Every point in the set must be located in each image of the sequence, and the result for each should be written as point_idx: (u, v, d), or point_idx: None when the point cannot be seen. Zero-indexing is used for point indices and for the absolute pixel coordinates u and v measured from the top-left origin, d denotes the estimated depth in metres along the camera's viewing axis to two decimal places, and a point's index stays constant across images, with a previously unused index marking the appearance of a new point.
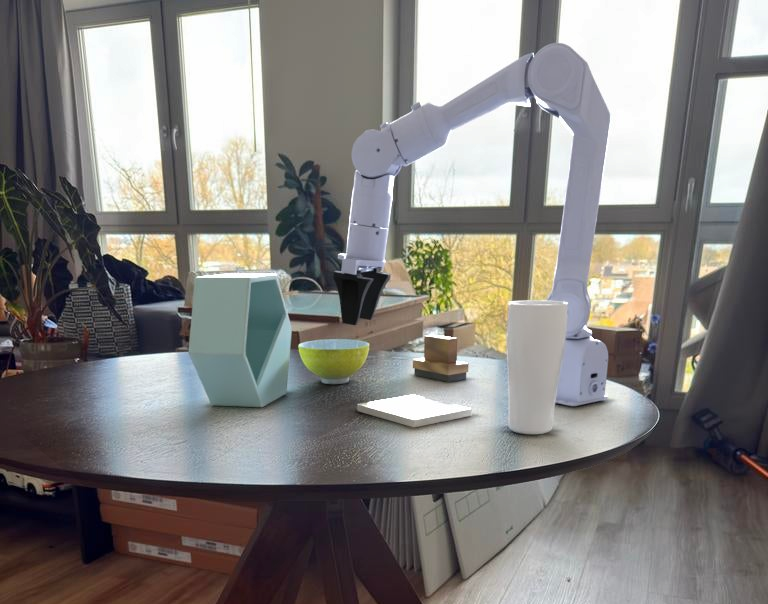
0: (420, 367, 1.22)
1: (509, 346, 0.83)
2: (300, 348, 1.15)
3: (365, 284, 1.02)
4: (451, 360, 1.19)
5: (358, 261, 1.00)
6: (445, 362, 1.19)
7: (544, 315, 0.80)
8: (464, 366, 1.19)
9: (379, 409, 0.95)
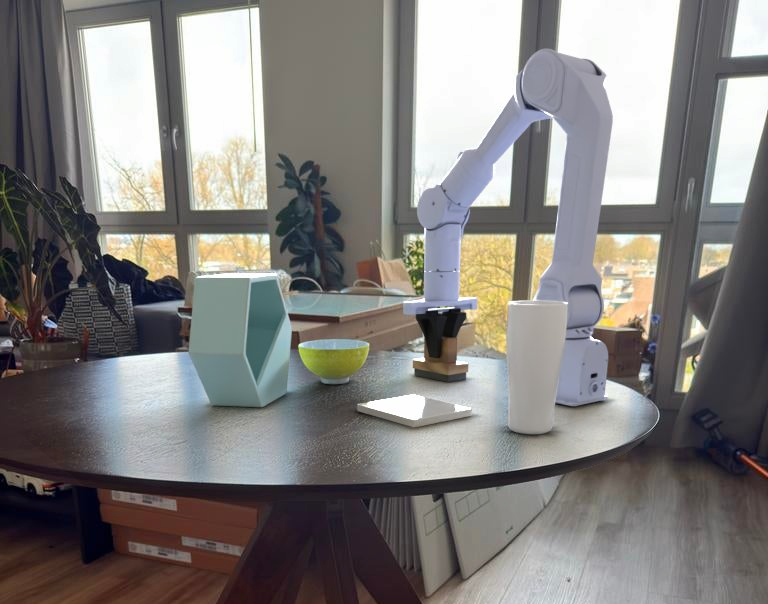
0: (420, 367, 1.22)
1: (509, 346, 0.83)
2: (300, 348, 1.15)
3: (435, 321, 1.15)
4: (451, 360, 1.19)
5: (416, 303, 1.13)
6: (445, 362, 1.19)
7: (544, 315, 0.80)
8: (464, 366, 1.19)
9: (379, 409, 0.95)
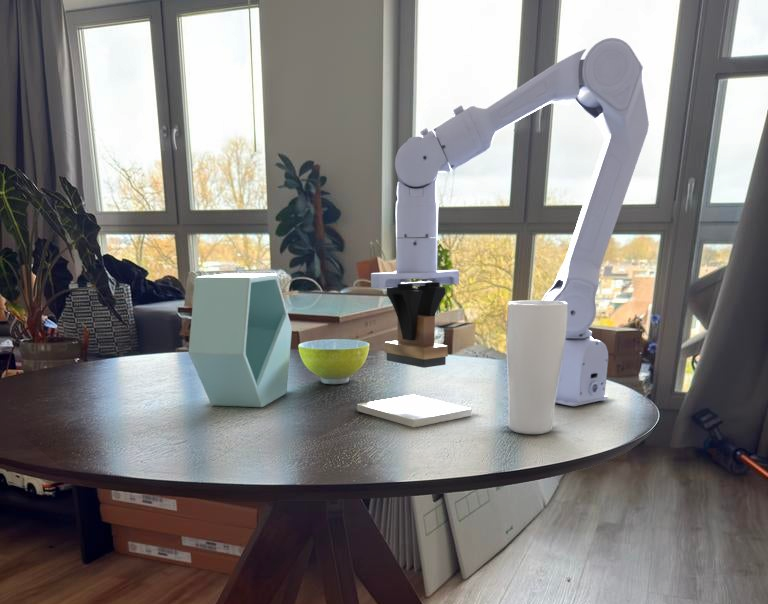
0: (393, 351, 1.05)
1: (509, 346, 0.83)
2: (300, 348, 1.15)
3: (408, 296, 0.98)
4: (428, 343, 1.02)
5: (385, 274, 0.97)
6: (421, 345, 1.02)
7: (544, 315, 0.80)
8: (443, 349, 1.02)
9: (379, 409, 0.95)
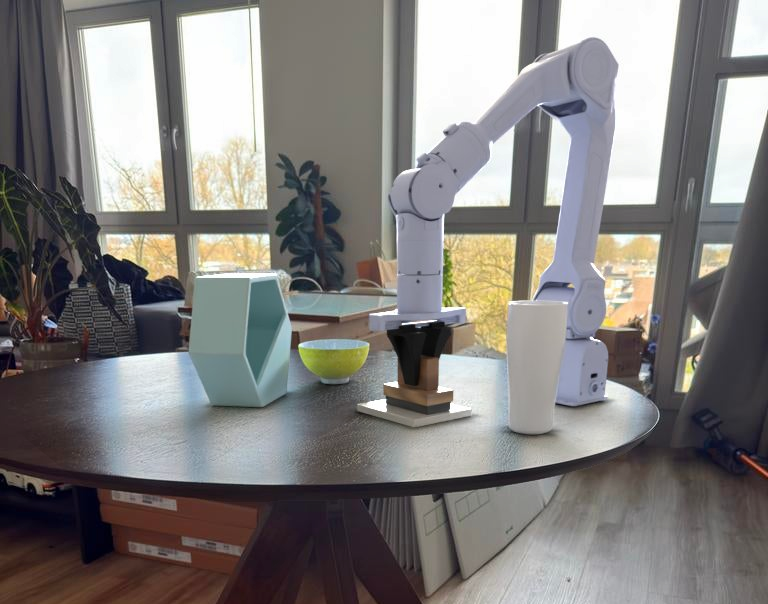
0: (392, 394, 0.96)
1: (509, 346, 0.83)
2: (300, 348, 1.15)
3: (411, 339, 0.89)
4: (431, 387, 0.92)
5: (385, 316, 0.87)
6: (423, 389, 0.92)
7: (544, 315, 0.80)
8: (448, 394, 0.92)
9: (379, 409, 0.95)
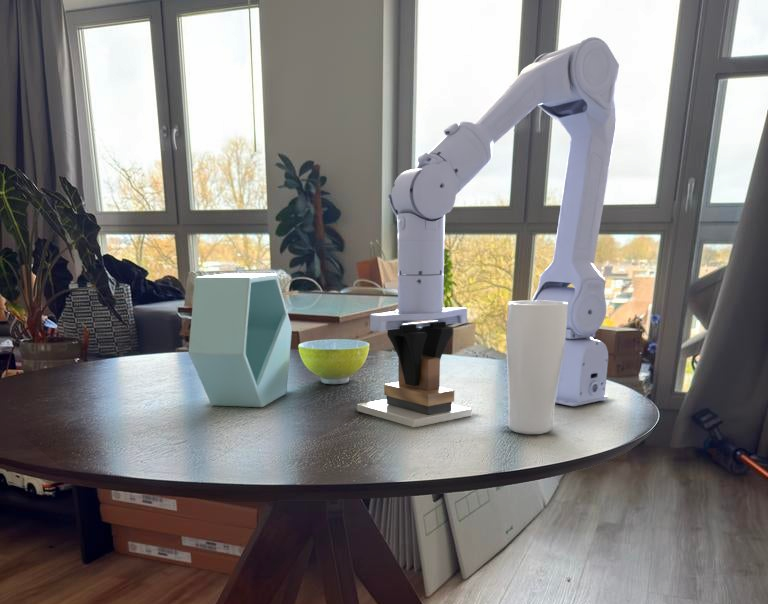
0: (393, 394, 0.96)
1: (509, 346, 0.83)
2: (300, 348, 1.15)
3: (411, 340, 0.89)
4: (432, 387, 0.92)
5: (386, 316, 0.87)
6: (424, 389, 0.92)
7: (544, 315, 0.80)
8: (449, 394, 0.92)
9: (379, 409, 0.95)
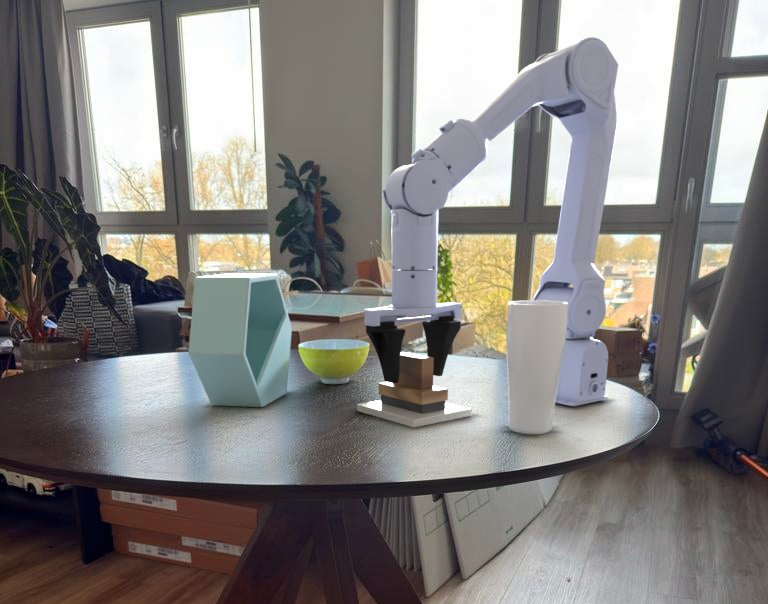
0: (387, 393, 0.96)
1: (509, 346, 0.83)
2: (300, 348, 1.15)
3: (389, 336, 0.88)
4: (426, 385, 0.93)
5: (380, 311, 0.87)
6: (418, 388, 0.93)
7: (544, 315, 0.80)
8: (442, 393, 0.93)
9: (379, 409, 0.95)
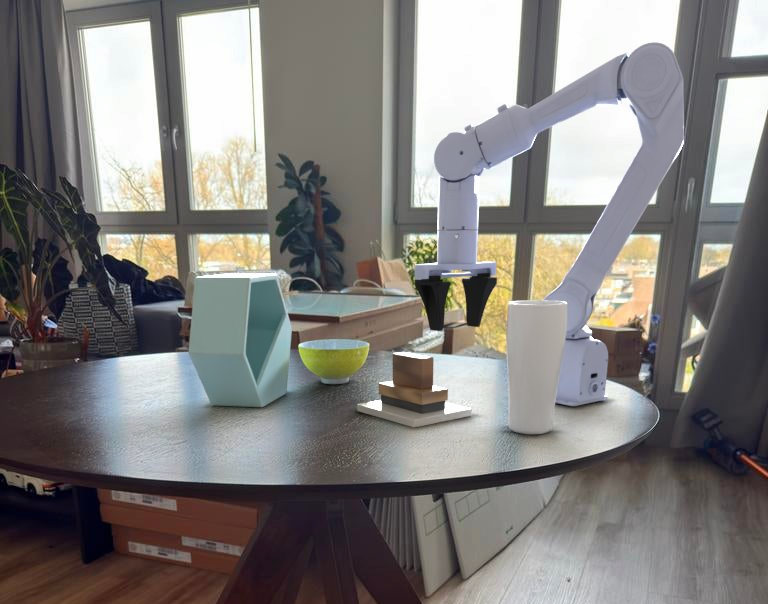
0: (387, 393, 0.96)
1: (509, 346, 0.83)
2: (300, 348, 1.15)
3: (437, 287, 1.00)
4: (426, 385, 0.93)
5: (429, 265, 1.00)
6: (418, 388, 0.93)
7: (544, 315, 0.80)
8: (442, 393, 0.93)
9: (379, 409, 0.95)
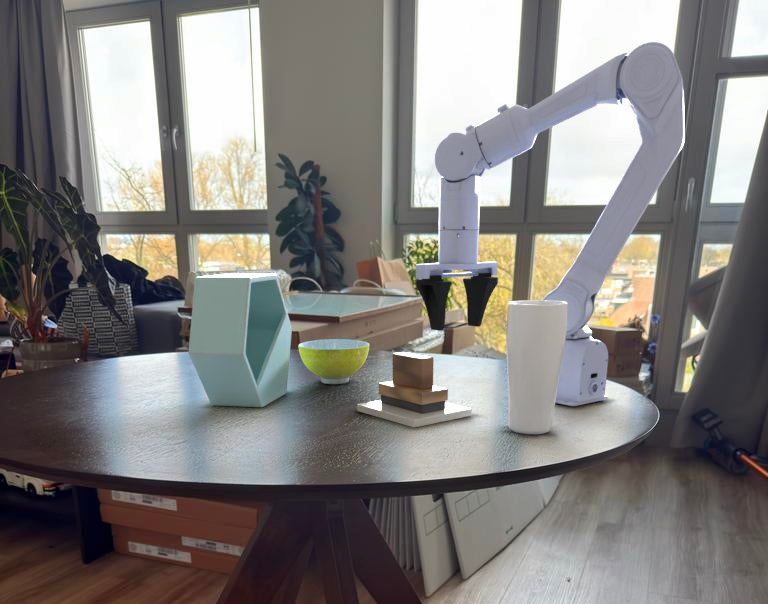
0: (387, 393, 0.96)
1: (509, 346, 0.83)
2: (300, 348, 1.15)
3: (438, 287, 1.01)
4: (426, 385, 0.93)
5: (430, 265, 1.00)
6: (418, 388, 0.93)
7: (544, 315, 0.80)
8: (442, 393, 0.93)
9: (379, 409, 0.95)
